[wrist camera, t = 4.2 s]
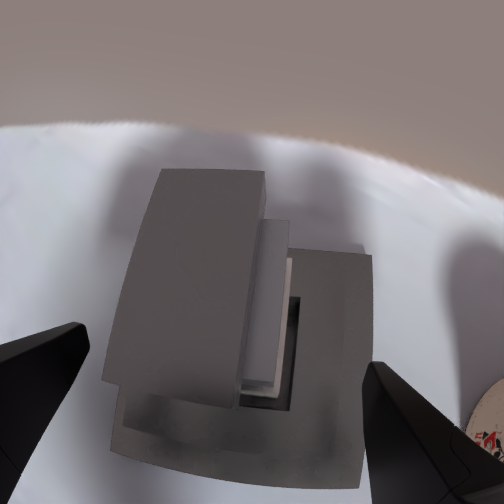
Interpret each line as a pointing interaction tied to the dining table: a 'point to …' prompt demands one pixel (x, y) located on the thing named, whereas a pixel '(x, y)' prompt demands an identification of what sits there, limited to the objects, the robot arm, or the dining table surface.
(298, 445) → the stand base
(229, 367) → the column
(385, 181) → the dining table surface
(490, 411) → the teacup with lid
